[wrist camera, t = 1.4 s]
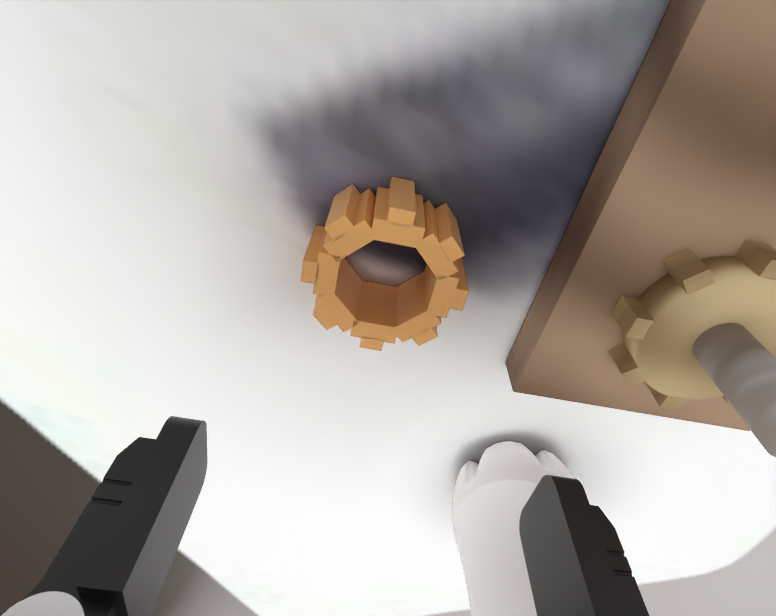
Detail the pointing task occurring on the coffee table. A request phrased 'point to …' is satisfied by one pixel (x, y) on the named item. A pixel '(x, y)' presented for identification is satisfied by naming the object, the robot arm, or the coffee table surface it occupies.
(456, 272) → the gear
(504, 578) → the water bottle
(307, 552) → the coffee table surface
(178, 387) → the coffee table surface
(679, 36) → the gear board
